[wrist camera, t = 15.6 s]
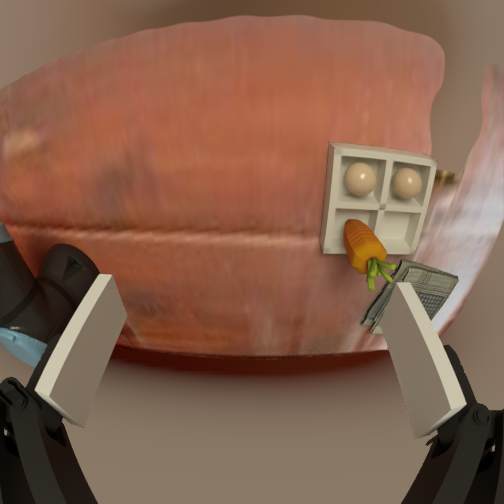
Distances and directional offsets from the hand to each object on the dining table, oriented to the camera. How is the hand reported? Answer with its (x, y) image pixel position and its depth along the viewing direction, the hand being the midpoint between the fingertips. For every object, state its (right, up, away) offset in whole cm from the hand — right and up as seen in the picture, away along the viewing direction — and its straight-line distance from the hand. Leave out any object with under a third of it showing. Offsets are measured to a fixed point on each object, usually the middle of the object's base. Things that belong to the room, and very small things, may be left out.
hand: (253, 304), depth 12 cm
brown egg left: (+15, +13, +25) cm, 32 cm away
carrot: (+15, +7, +29) cm, 33 cm away
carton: (+19, +11, +27) cm, 34 cm away
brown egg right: (+22, +13, +24) cm, 35 cm away
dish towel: (+33, -7, +39) cm, 52 cm away
